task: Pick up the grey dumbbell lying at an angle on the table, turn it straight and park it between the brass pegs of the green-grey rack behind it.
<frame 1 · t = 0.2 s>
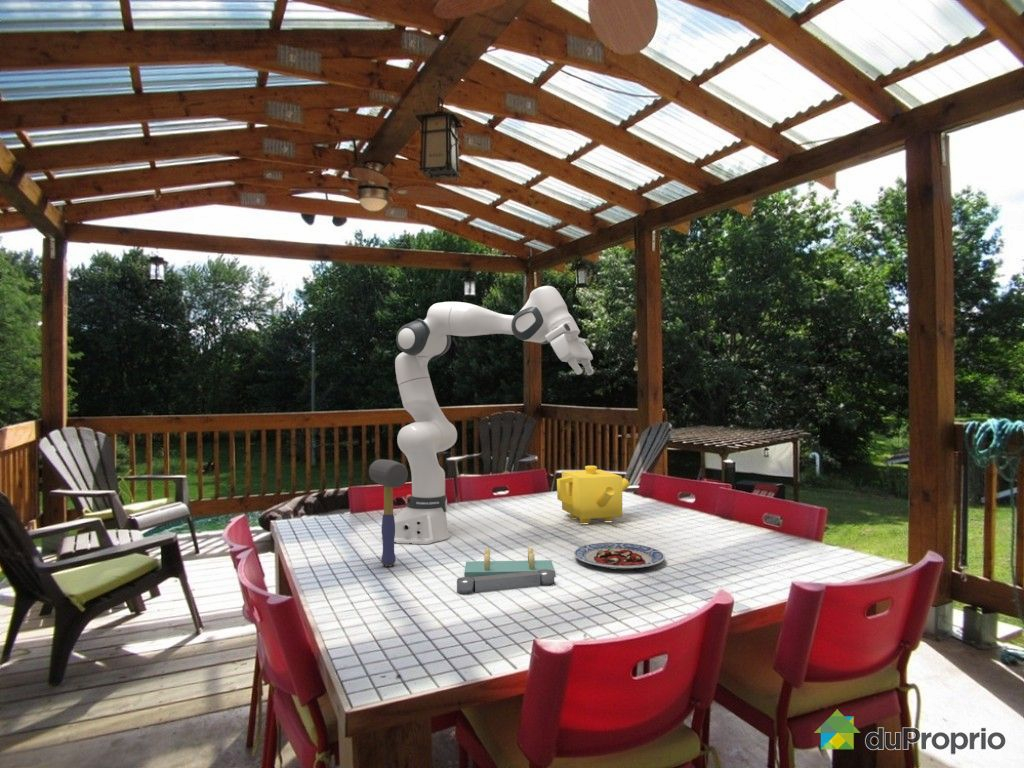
hand: (585, 374, 181), 54 cm above the table, tool tilted 30°, fingers open, 8 cm apart
grey dumbbell: (506, 587, 155), on the table
rubber mallet: (388, 566, 174), on the table
peg rack: (509, 571, 168), on the table
yellow teapot: (594, 519, 233), on the table
ceramic plate: (619, 562, 178), on the table
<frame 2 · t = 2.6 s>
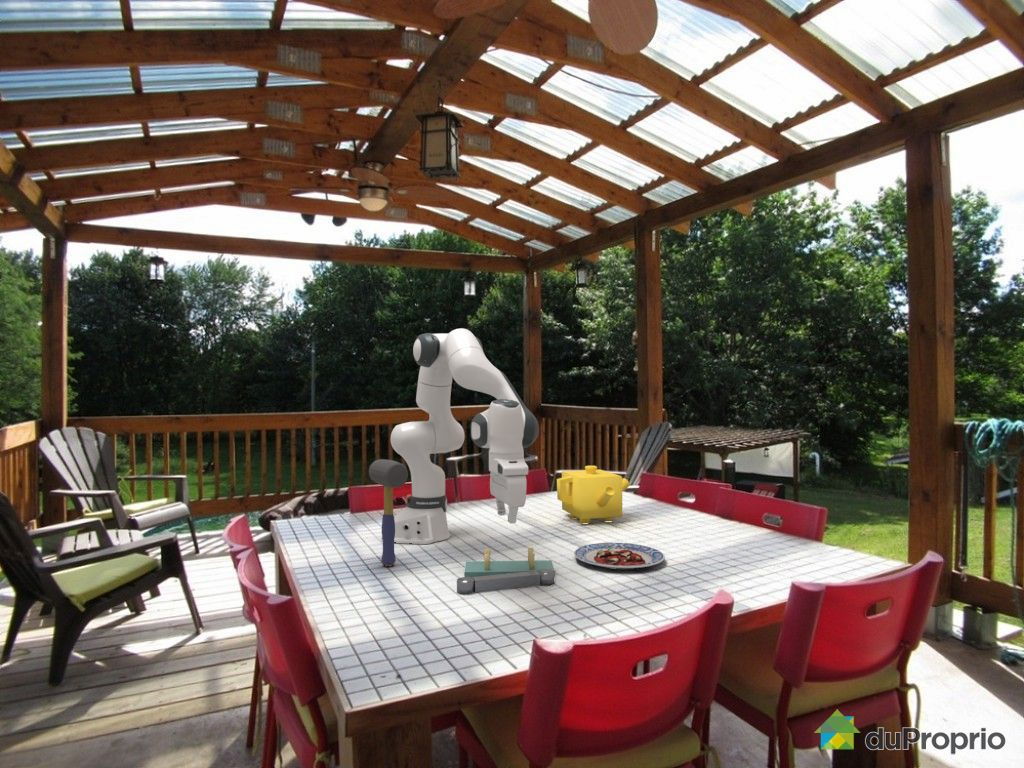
hand: (506, 518, 155), 17 cm above the table, tool pointing down, fingers open, 8 cm apart
nothing on the table moved.
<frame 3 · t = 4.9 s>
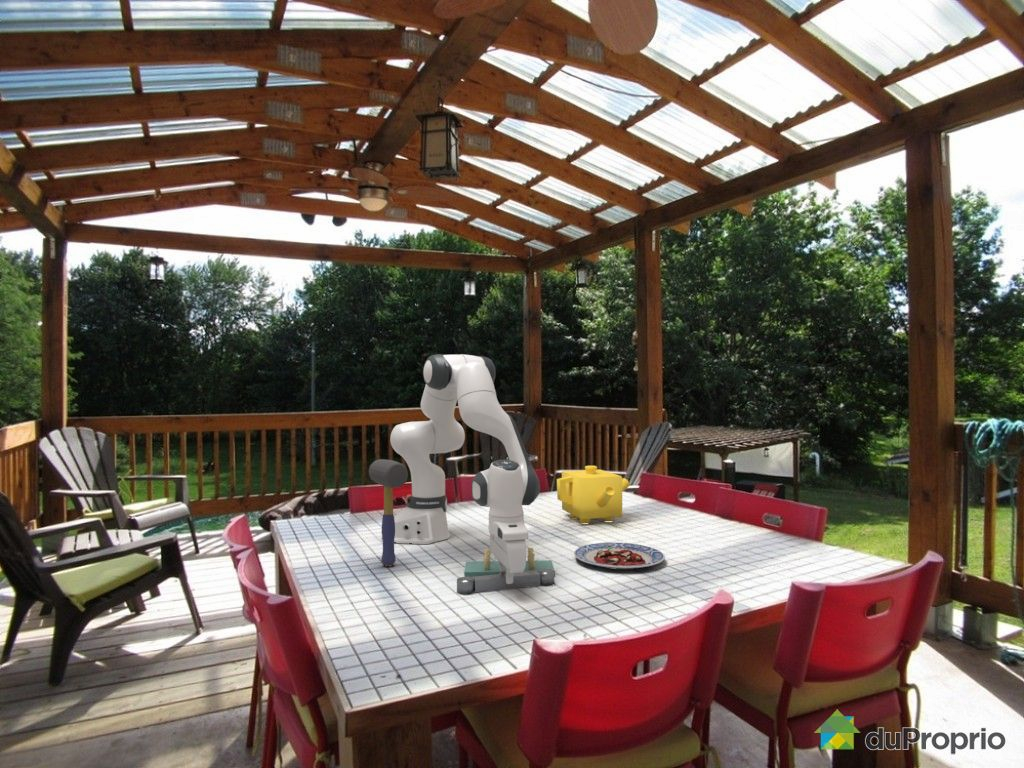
hand: (506, 580, 155), 2 cm above the table, tool pointing down, fingers closed on grey dumbbell, 3 cm apart
grey dumbbell: (506, 587, 155), on the table, touching gripper
everything else where it was.
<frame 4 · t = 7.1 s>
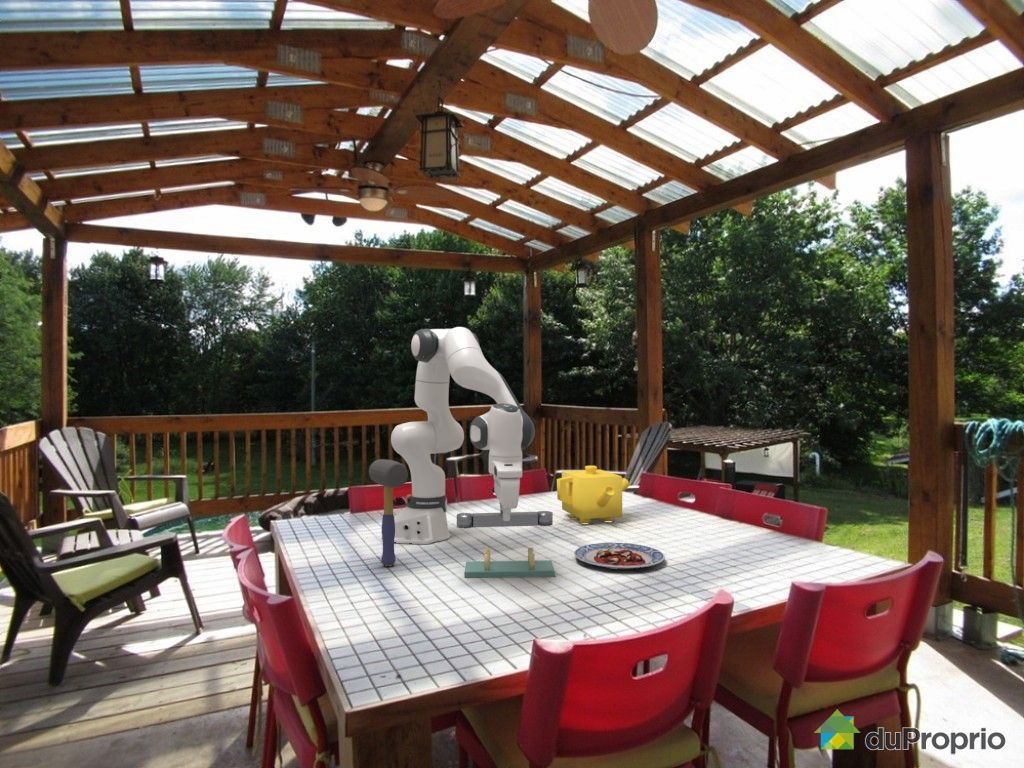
hand: (505, 518, 162), 16 cm above the table, tool pointing down, fingers closed on grey dumbbell, 3 cm apart
grey dumbbell: (505, 525, 162), point 14 cm above the table, touching gripper
everything else where it was.
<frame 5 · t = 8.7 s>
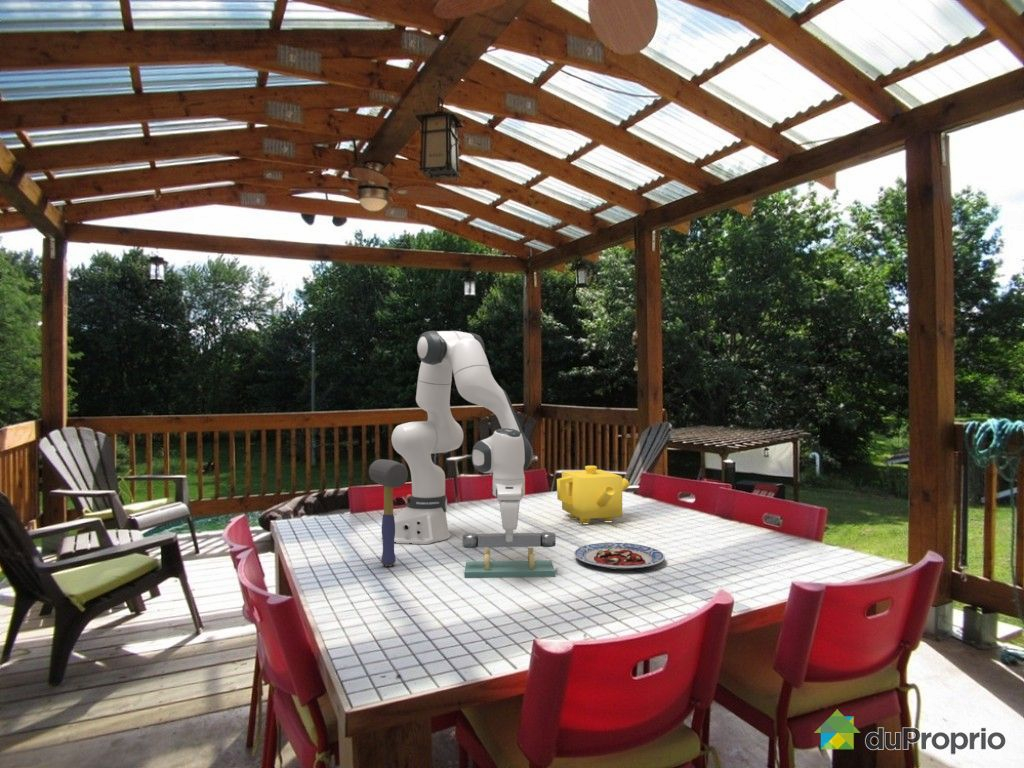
hand: (509, 539, 168), 9 cm above the table, tool pointing down, fingers closed on grey dumbbell, 3 cm apart
grey dumbbell: (509, 545, 168), point 7 cm above the table, touching gripper
everything else where it was.
when the fingers open (5 cm above the table, at t = 9.7 s): grey dumbbell drops 2 cm, resting on peg rack.
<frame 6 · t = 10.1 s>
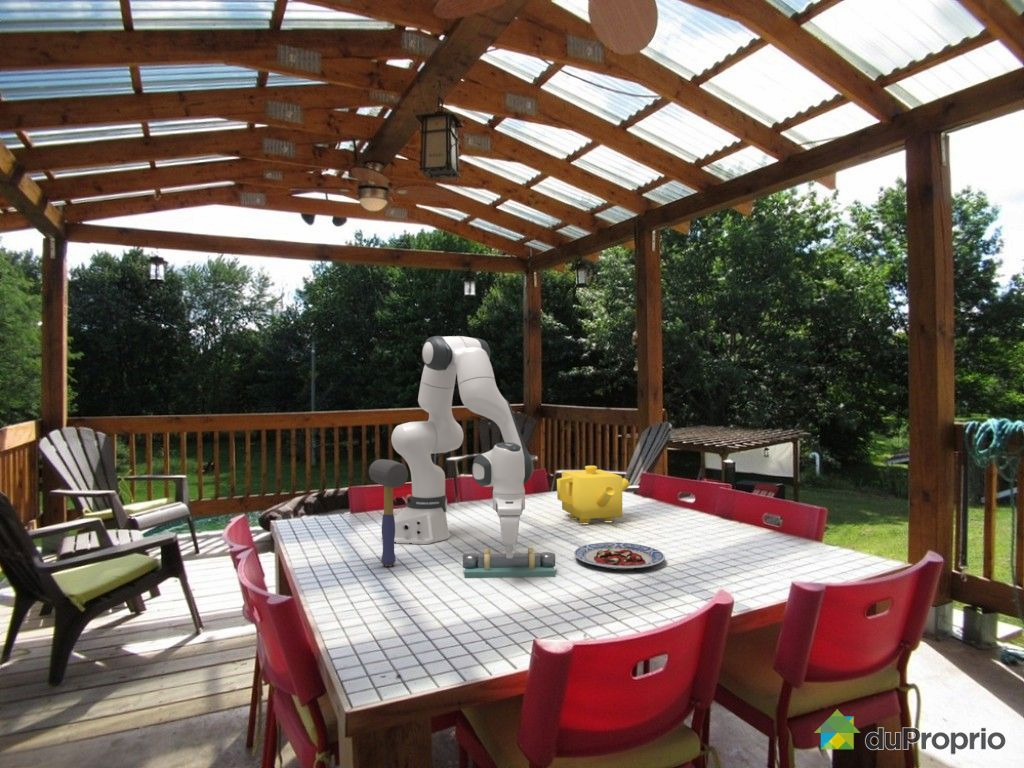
hand: (509, 553, 168), 5 cm above the table, tool pointing down, fingers open, 7 cm apart
grey dumbbell: (509, 565, 168), point 1 cm above the table, touching peg rack
everything else where it was.
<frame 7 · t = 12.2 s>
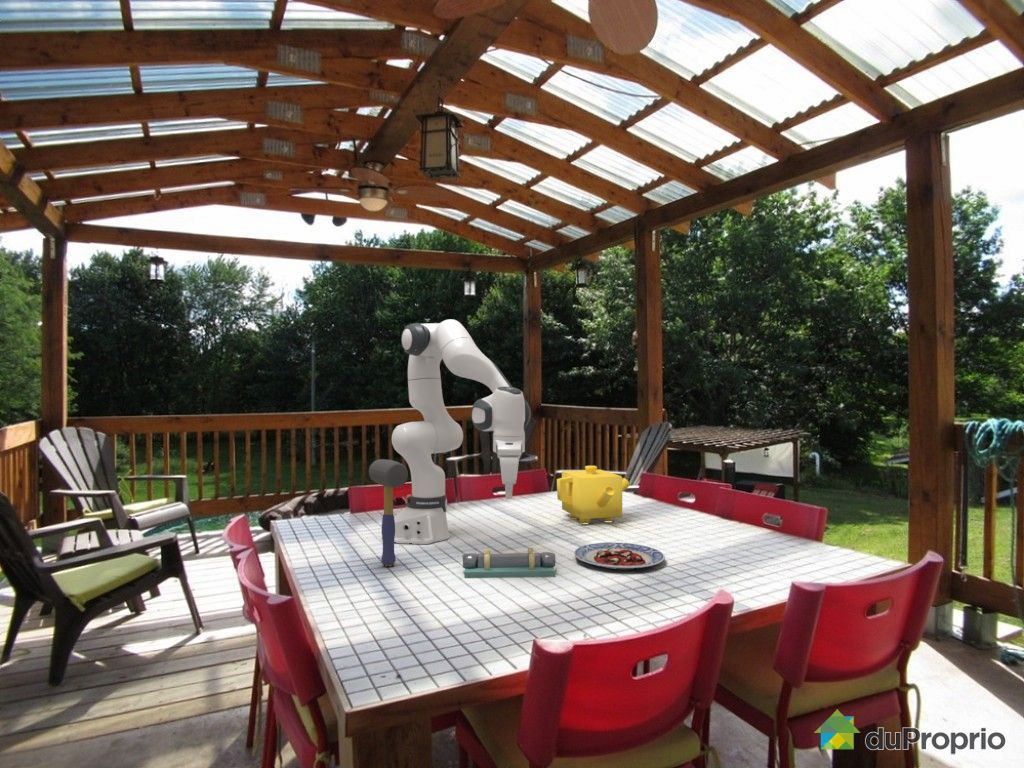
hand: (508, 495, 171), 20 cm above the table, tool pointing down, fingers open, 8 cm apart
nothing on the table moved.
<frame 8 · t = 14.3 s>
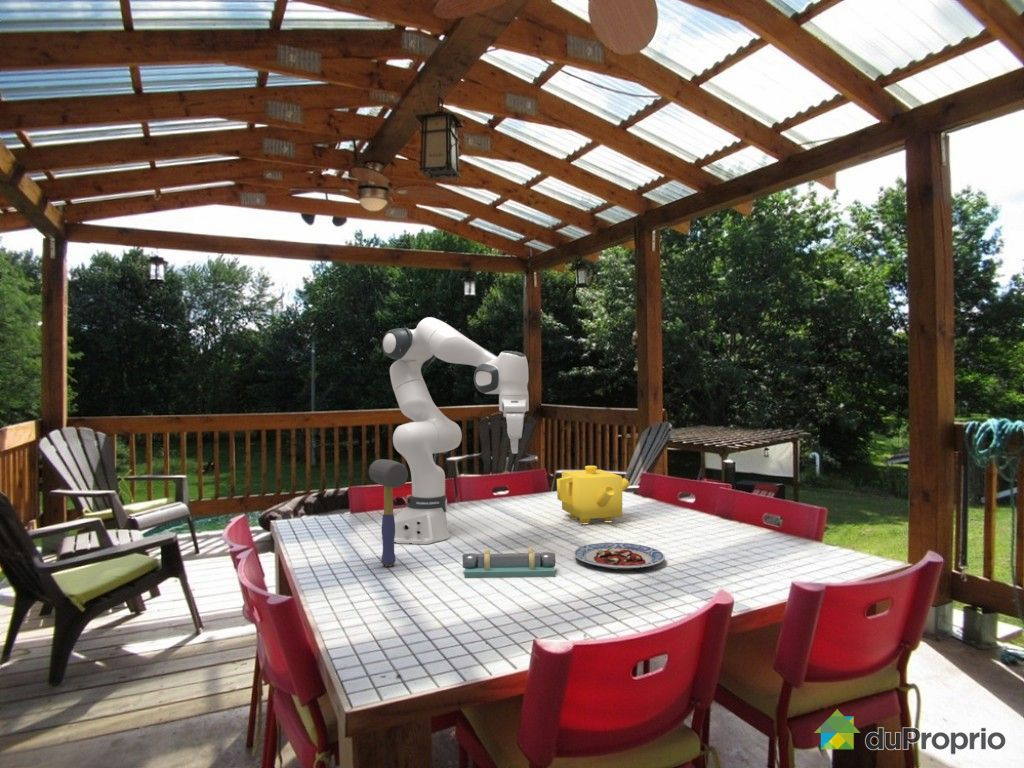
hand: (514, 451, 183), 31 cm above the table, tool pointing down, fingers open, 8 cm apart
nothing on the table moved.
at the end: grey dumbbell 0.1 cm off-centre on the peg rack, point 1.5 cm above the peg rack's base; grey dumbbell tilted 0°; the gripper is holding nothing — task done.
